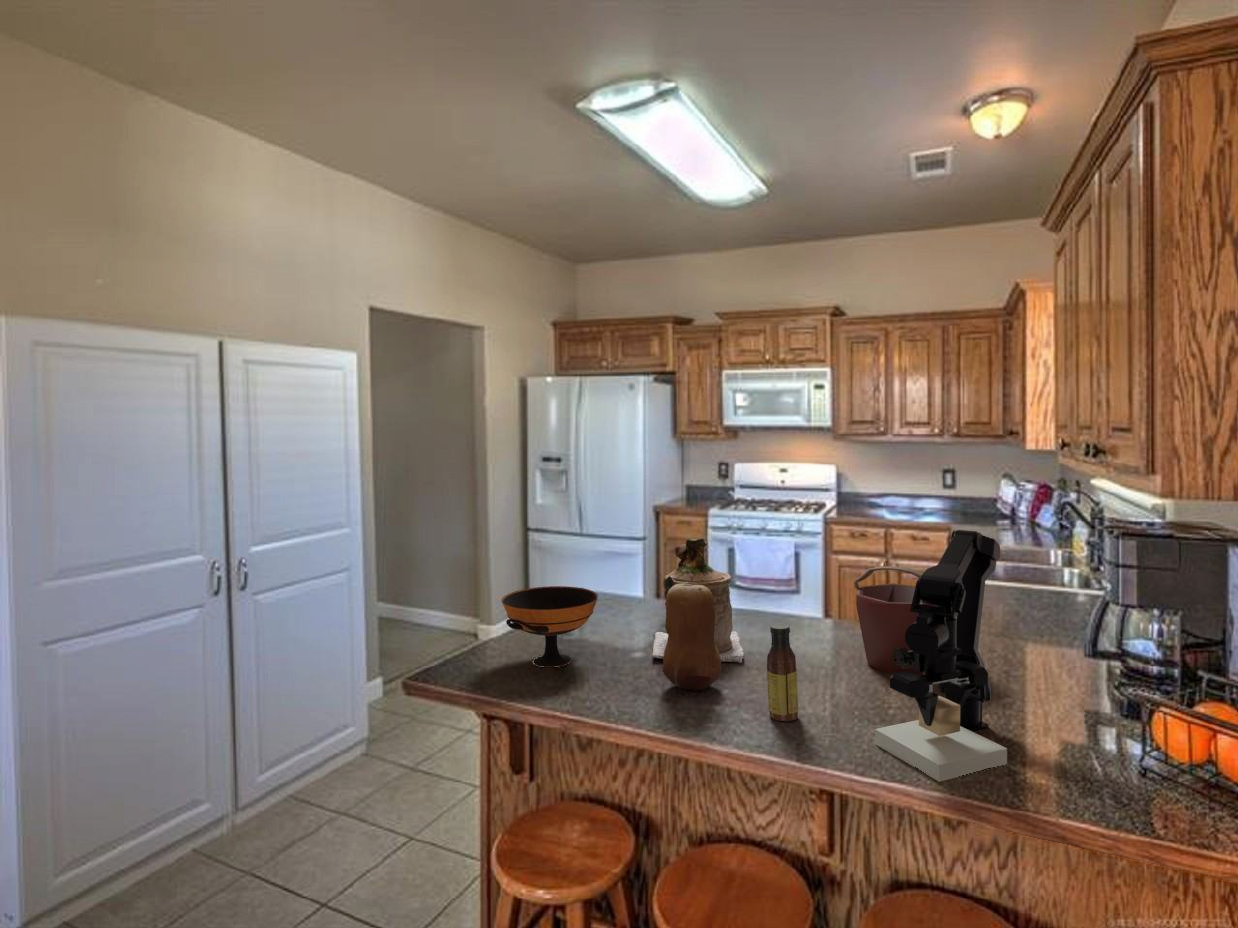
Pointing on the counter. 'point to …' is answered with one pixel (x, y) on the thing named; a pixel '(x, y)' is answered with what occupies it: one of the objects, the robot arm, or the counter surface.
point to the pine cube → (943, 718)
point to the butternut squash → (690, 637)
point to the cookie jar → (700, 573)
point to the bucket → (885, 619)
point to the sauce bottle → (782, 676)
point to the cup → (549, 615)
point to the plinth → (940, 750)
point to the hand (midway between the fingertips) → (939, 722)
